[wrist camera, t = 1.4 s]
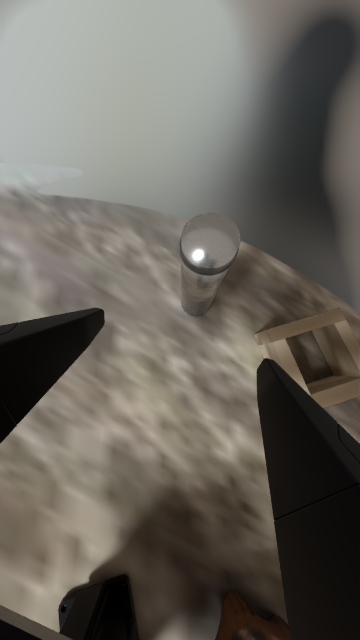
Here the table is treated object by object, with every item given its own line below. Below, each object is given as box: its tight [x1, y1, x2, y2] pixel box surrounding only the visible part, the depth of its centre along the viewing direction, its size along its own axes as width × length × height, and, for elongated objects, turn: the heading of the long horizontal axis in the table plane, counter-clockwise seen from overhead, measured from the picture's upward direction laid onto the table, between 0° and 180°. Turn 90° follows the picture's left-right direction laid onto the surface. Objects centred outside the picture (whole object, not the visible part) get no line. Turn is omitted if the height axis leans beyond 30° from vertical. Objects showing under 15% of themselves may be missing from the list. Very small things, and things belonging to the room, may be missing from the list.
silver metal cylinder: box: [180, 213, 240, 316], centre depth 17 cm, size 4×4×12 cm
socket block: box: [254, 308, 360, 408], centre depth 20 cm, size 9×9×4 cm
